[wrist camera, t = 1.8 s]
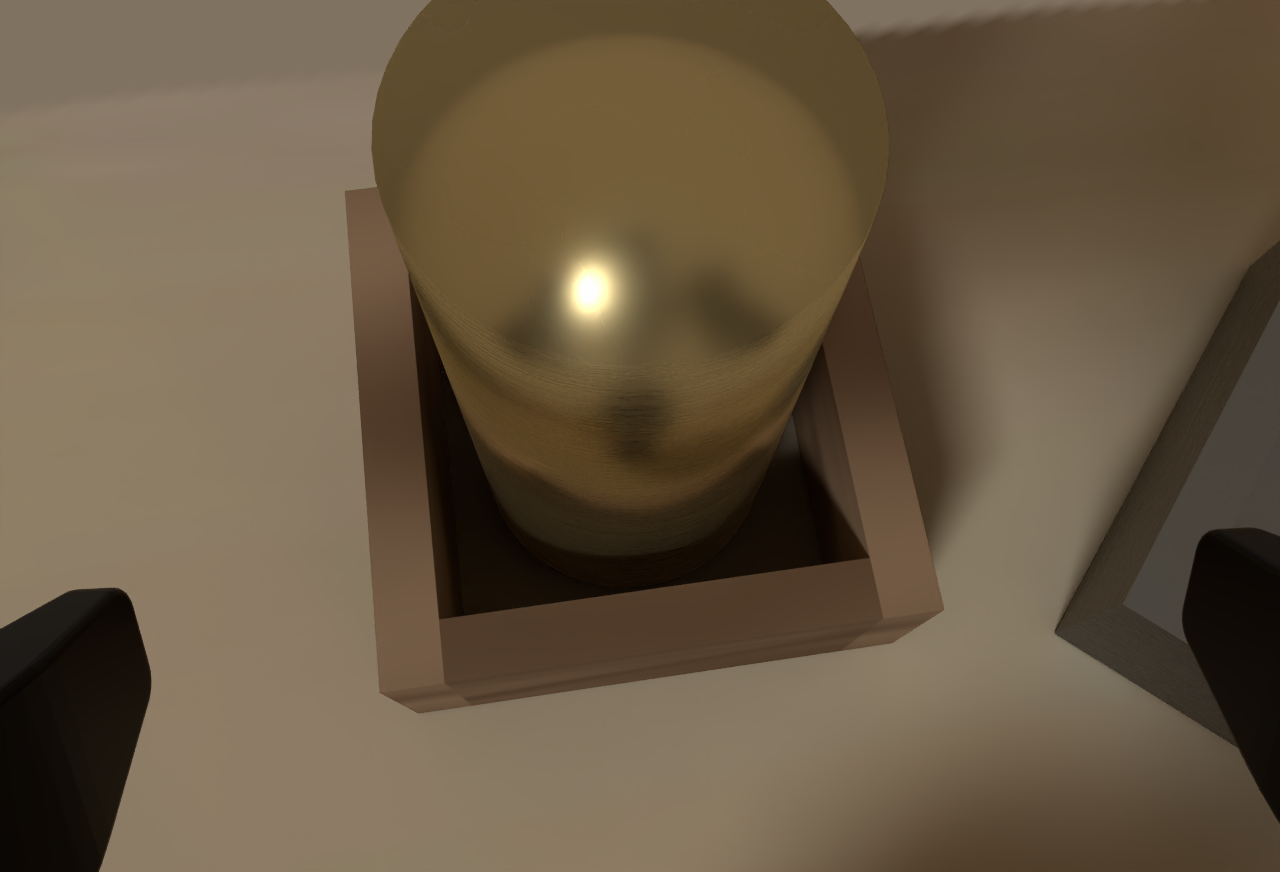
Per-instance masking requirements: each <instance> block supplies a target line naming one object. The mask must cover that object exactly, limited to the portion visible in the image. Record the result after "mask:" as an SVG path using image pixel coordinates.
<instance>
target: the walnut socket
mask: <svg viewBox="0 0 1280 872" xmlns="http://www.w3.org/2000/svg"><path fill="white" fill-rule="evenodd" d="M345 198H346V212H347V227H348V241H349V256H350V270H351V285H352V299H353V314H354V328H355V342H356V357H357V371H358V386H359V400H360V415H361V429H362V443H363V458H364V472H365V487H366V501H367V516H368V530H369V544H370V559H371V573H372V588H373V602H374V617H375V631H376V646H377V660H378V674H379V689H380V693H381V694H383V695H385V696H387V697H389V698H391V699H392V700H394V701H396V702H398V703H400V704H402V705H404V706H405V707H407V708H409V709H411V710H413V711H415V712H417V713H425V712H431V711H438V710H445V709H452V708H458V707H465V706H472V705H478V704H485V703H492V702H499V701H505V700H512V699H519V698H525V697H532V696H539V695H546V694H552V693H559V692H566V691H573V690H579V689H586V688H593V687H599V686H606V685H613V684H620V683H626V682H633V681H640V680H647V679H653V678H660V677H667V676H673V675H680V674H687V673H694V672H700V671H707V670H714V669H721V668H727V667H734V666H741V665H747V664H754V663H761V662H768V661H774V660H781V659H788V658H795V657H801V656H808V655H815V654H821V653H828V652H835V651H842V650H848V649H855V648H862V647H868V646H875V645H882V644H889V643H893V642H895V641H896V640H898V639H899V638H901V637H902V636H904V635H906V634H907V633H909V632H910V631H912V630H913V629H915V628H917V627H918V626H920V625H921V624H923V623H924V622H926V621H927V620H929V619H931V618H932V617H934V616H935V615H937V614H938V613H940V612H942V611H943V610H944V606H943V602H942V598H941V594H940V590H939V586H938V581H937V577H936V573H935V569H934V565H933V561H932V556H931V552H930V548H929V544H928V540H927V536H926V531H925V527H924V523H923V519H922V515H921V511H920V506H919V502H918V498H917V494H916V490H915V486H914V481H913V477H912V473H911V469H910V465H909V461H908V456H907V452H906V448H905V444H904V440H903V436H902V431H901V427H900V423H899V419H898V415H897V411H896V406H895V402H894V398H893V394H892V390H891V386H890V381H889V377H888V373H887V369H886V365H885V361H884V356H883V352H882V348H881V344H880V340H879V336H878V332H877V327H876V323H875V319H874V315H873V311H872V307H871V302H870V298H869V294H868V290H867V286H866V282H865V277H864V273H863V269H862V265H861V261H860V257H858V260H857V262H856V264H855V267H854V269H853V271H852V274H851V276H850V278H849V281H848V283H847V285H846V288H845V290H844V292H843V295H842V297H841V299H840V302H839V304H838V306H837V309H836V311H835V313H834V316H833V318H832V320H831V323H830V325H829V327H828V330H827V332H826V334H825V337H824V339H823V341H822V344H821V346H820V348H819V351H818V353H817V355H816V357H815V360H814V362H813V364H812V367H811V369H810V371H809V374H808V376H807V378H806V381H805V383H804V385H803V388H802V390H801V392H800V395H799V397H798V399H797V402H796V404H795V406H794V409H793V411H792V416H793V420H794V425H795V430H796V435H797V440H798V445H799V449H800V454H801V459H802V464H803V469H804V474H805V478H806V483H807V488H808V493H809V498H810V503H811V507H812V512H813V517H814V522H815V527H816V532H817V536H818V541H819V546H820V551H821V556H822V561H823V565H816V566H810V567H803V568H796V569H789V570H782V571H775V572H768V573H761V574H754V575H747V576H740V577H733V578H726V579H719V580H712V581H705V582H698V583H691V584H684V585H677V586H670V587H663V588H656V589H649V590H642V591H635V592H628V593H621V594H614V595H607V596H600V597H593V598H586V599H579V600H572V601H565V602H558V603H551V604H544V605H537V606H530V607H523V608H516V609H509V610H502V611H495V612H488V613H481V614H474V615H467V616H464V613H463V602H462V592H461V582H460V571H459V561H458V550H457V540H456V529H455V519H454V509H453V498H452V488H451V477H450V467H449V457H448V446H447V436H446V425H445V415H444V404H443V394H442V384H441V373H440V363H439V352H438V349H437V347H436V344H435V342H434V339H433V336H432V334H431V331H430V328H429V326H428V323H427V321H426V318H425V315H424V313H423V310H422V307H421V305H420V302H419V300H418V297H417V294H416V292H415V289H414V286H413V284H412V281H411V279H410V276H409V273H408V271H407V268H406V265H405V263H404V260H403V258H402V255H401V252H400V250H399V247H398V244H397V242H396V239H395V237H394V234H393V231H392V229H391V226H390V223H389V221H388V218H387V216H386V213H385V210H384V208H383V204H382V201H381V197H380V194H379V190H378V187H375V188H367V189H358V190H349V191H345Z"/></svg>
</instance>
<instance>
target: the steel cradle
mask: <svg viewBox="0 0 1280 872" xmlns="http://www.w3.org/2000/svg"><path fill="white" fill-rule="evenodd" d="M1246 527H1251V528H1258V529H1262V530H1265V531H1267V532H1270V533H1273V534H1275V535H1278V536H1280V241H1279V242H1278V243H1276V244H1275V245H1274V246H1273V247H1272V248H1271V249H1270V250H1268V251H1267V252H1266V253H1265V254H1264V255H1263V256H1262V257H1260V258H1259V259H1258V260H1257V261H1256V262H1255V263H1254V264H1252V265H1251V266H1250V267H1249V269H1248V271H1247V273H1246V275H1245V277H1244V278H1243V280H1242V282H1241V284H1240V286H1239V288H1238V290H1237V292H1236V293H1235V295H1234V297H1233V299H1232V301H1231V303H1230V305H1229V307H1228V309H1227V310H1226V312H1225V314H1224V316H1223V318H1222V320H1221V322H1220V324H1219V325H1218V327H1217V329H1216V331H1215V333H1214V335H1213V337H1212V339H1211V340H1210V342H1209V344H1208V346H1207V348H1206V350H1205V352H1204V354H1203V355H1202V357H1201V359H1200V361H1199V363H1198V365H1197V367H1196V369H1195V370H1194V372H1193V374H1192V376H1191V378H1190V380H1189V382H1188V384H1187V385H1186V387H1185V389H1184V391H1183V393H1182V395H1181V397H1180V399H1179V400H1178V402H1177V404H1176V406H1175V408H1174V410H1173V412H1172V414H1171V415H1170V417H1169V419H1168V421H1167V423H1166V425H1165V427H1164V429H1163V431H1162V432H1161V434H1160V436H1159V438H1158V440H1157V442H1156V444H1155V446H1154V447H1153V449H1152V451H1151V453H1150V455H1149V457H1148V459H1147V461H1146V462H1145V464H1144V466H1143V468H1142V470H1141V472H1140V474H1139V476H1138V477H1137V479H1136V481H1135V483H1134V485H1133V487H1132V489H1131V491H1130V492H1129V494H1128V496H1127V498H1126V500H1125V502H1124V504H1123V506H1122V507H1121V509H1120V511H1119V513H1118V515H1117V517H1116V519H1115V521H1114V522H1113V524H1112V526H1111V528H1110V530H1109V532H1108V534H1107V536H1106V537H1105V539H1104V541H1103V543H1102V545H1101V547H1100V549H1099V551H1098V553H1097V554H1096V556H1095V558H1094V560H1093V562H1092V564H1091V566H1090V568H1089V569H1088V571H1087V573H1086V575H1085V577H1084V579H1083V581H1082V583H1081V584H1080V586H1079V588H1078V590H1077V592H1076V594H1075V596H1074V598H1073V599H1072V601H1071V603H1070V605H1069V607H1068V609H1067V611H1066V613H1065V614H1064V616H1063V618H1062V620H1061V622H1060V624H1059V626H1058V628H1057V629H1056V631H1055V634H1056V635H1058V636H1060V637H1061V638H1063V639H1064V640H1066V641H1068V642H1069V643H1071V644H1072V645H1074V646H1076V647H1077V648H1079V649H1080V650H1082V651H1084V652H1085V653H1087V654H1088V655H1090V656H1092V657H1093V658H1095V659H1097V660H1098V661H1100V662H1101V663H1103V664H1105V665H1106V666H1108V667H1109V668H1111V669H1113V670H1114V671H1116V672H1117V673H1119V674H1121V675H1122V676H1124V677H1125V678H1127V679H1129V680H1130V681H1132V682H1133V683H1135V684H1137V685H1138V686H1140V687H1142V688H1143V689H1145V690H1146V691H1148V692H1150V693H1151V694H1153V695H1154V696H1156V697H1158V698H1159V699H1161V700H1162V701H1164V702H1166V703H1167V704H1169V705H1170V706H1172V707H1174V708H1175V709H1177V710H1179V711H1180V712H1182V713H1183V714H1185V715H1187V716H1188V717H1190V718H1191V719H1193V720H1195V721H1196V722H1198V723H1199V724H1201V725H1203V726H1204V727H1206V728H1207V729H1209V730H1211V731H1212V732H1214V733H1215V734H1217V735H1219V736H1220V737H1222V738H1224V739H1225V740H1227V741H1228V742H1230V743H1232V744H1233V745H1235V746H1236V747H1238V746H1237V744H1236V742H1235V740H1234V738H1233V736H1232V734H1231V732H1230V730H1229V728H1228V726H1227V724H1226V721H1225V719H1224V717H1223V715H1222V713H1221V711H1220V709H1219V707H1218V705H1217V703H1216V701H1215V699H1214V697H1213V695H1212V693H1211V690H1210V688H1209V686H1208V684H1207V682H1206V680H1205V678H1204V676H1203V674H1202V672H1201V670H1200V668H1199V666H1198V664H1197V662H1196V659H1195V657H1194V655H1193V653H1192V651H1191V649H1190V647H1189V645H1188V643H1187V640H1186V638H1185V635H1184V631H1183V626H1182V609H1183V604H1184V600H1185V595H1186V591H1187V586H1188V582H1189V578H1190V573H1191V569H1192V564H1193V560H1194V556H1195V551H1196V548H1197V545H1198V542H1199V540H1200V539H1201V537H1202V536H1203V535H1204V534H1205V533H1207V532H1208V531H1210V530H1214V529H1228V528H1246Z"/></svg>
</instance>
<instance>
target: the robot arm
mask: <svg viewBox="0 0 1280 872" xmlns="http://www.w3.org/2000/svg"><path fill="white" fill-rule="evenodd" d="M1182 626H1183V631H1184V635H1185V638H1186V640H1187V643H1188V645H1189V647H1190V649H1191V651H1192V653H1193V655H1194V657H1195V659H1196V662H1197V664H1198V666H1199V668H1200V670H1201V672H1202V674H1203V676H1204V678H1205V680H1206V682H1207V684H1208V686H1209V688H1210V690H1211V693H1212V695H1213V697H1214V699H1215V701H1216V703H1217V705H1218V707H1219V709H1220V711H1221V713H1222V715H1223V717H1224V719H1225V721H1226V724H1227V726H1228V728H1229V730H1230V732H1231V734H1232V736H1233V738H1234V740H1235V742H1236V744H1237V746H1238V748H1239V750H1240V753H1241V755H1242V757H1243V759H1244V761H1245V763H1246V765H1247V767H1248V769H1249V771H1250V772H1251V774H1252V776H1253V778H1254V780H1255V782H1256V784H1257V786H1258V788H1259V790H1260V791H1261V793H1262V795H1263V797H1264V798H1265V800H1266V802H1267V803H1268V805H1269V807H1270V808H1271V810H1272V812H1273V814H1274V815H1275V817H1276V819H1277V820H1278V822H1279V823H1280V536H1278V535H1275V534H1273V533H1270V532H1267V531H1265V530H1262V529H1258V528H1251V527H1246V528H1228V529H1214V530H1210V531H1208V532H1207V533H1205V534H1204V535H1203V536H1202V537H1201V539H1200V540H1199V542H1198V545H1197V548H1196V551H1195V556H1194V560H1193V564H1192V569H1191V573H1190V578H1189V582H1188V586H1187V591H1186V595H1185V600H1184V604H1183V609H1182ZM150 693H151V671H150V666H149V662H148V659H147V655H146V651H145V648H144V644H143V640H142V637H141V633H140V629H139V626H138V622H137V618H136V615H135V611H134V608H133V605H132V602H131V600H130V598H129V596H128V595H127V593H125V592H124V591H122V590H121V589H119V588H97V589H77V590H72V591H69V592H66V593H64V594H63V595H61V596H59V597H57V598H55V599H54V600H52V601H50V602H48V603H46V604H44V605H43V606H41V607H39V608H37V609H35V610H34V611H32V612H30V613H28V614H26V615H25V616H23V617H21V618H19V619H17V620H16V621H14V622H12V623H10V624H8V625H7V626H5V627H3V628H1V629H0V872H99V870H100V867H101V864H102V862H103V859H104V855H105V852H106V849H107V846H108V843H109V840H110V837H111V833H112V830H113V826H114V823H115V819H116V816H117V812H118V808H119V805H120V801H121V798H122V794H123V791H124V787H125V784H126V780H127V777H128V773H129V770H130V766H131V763H132V759H133V756H134V752H135V748H136V745H137V741H138V738H139V734H140V731H141V727H142V724H143V720H144V717H145V713H146V710H147V706H148V703H149V698H150Z"/></svg>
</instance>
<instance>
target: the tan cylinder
mask: <svg viewBox="0 0 1280 872" xmlns="http://www.w3.org/2000/svg"><path fill="white" fill-rule="evenodd" d="M372 157H373V165H374V173H375V180H376V183H377V187H378V190H379V194H380V197H381V201H382V204H383V208H384V210H385V213H386V216H387V218H388V221H389V223H390V226H391V229H392V231H393V234H394V237H395V239H396V242H397V244H398V247H399V250H400V252H401V255H402V258H403V260H404V263H405V265H406V268H407V271H408V273H409V276H410V279H411V281H412V284H413V286H414V289H415V292H416V294H417V297H418V300H419V302H420V305H421V307H422V310H423V313H424V315H425V318H426V321H427V323H428V326H429V328H430V331H431V334H432V336H433V339H434V342H435V344H436V347H437V349H438V352H439V355H440V357H441V360H442V363H443V365H444V368H445V370H446V373H447V376H448V378H449V381H450V384H451V386H452V389H453V391H454V394H455V397H456V399H457V402H458V405H459V407H460V410H461V412H462V415H463V418H464V420H465V423H466V426H467V428H468V431H469V433H470V436H471V439H472V441H473V444H474V447H475V449H476V452H477V454H478V457H479V460H480V462H481V465H482V468H483V470H484V473H485V475H486V478H487V481H488V483H489V486H490V489H491V491H492V494H493V496H494V499H495V502H496V504H497V506H498V508H499V510H500V513H501V515H502V517H503V519H504V520H505V522H506V523H507V525H508V527H509V528H510V530H511V531H512V533H513V534H514V535H515V536H516V537H517V539H518V540H519V541H520V542H521V543H522V545H523V546H524V547H525V548H527V549H528V550H529V551H530V552H531V553H532V554H533V555H534V556H535V557H536V558H538V559H539V560H541V561H542V562H544V563H545V564H546V565H548V566H549V567H551V568H552V569H554V570H556V571H558V572H560V573H562V574H564V575H566V576H568V577H571V578H574V579H577V580H579V581H582V582H585V583H589V584H594V585H599V586H604V587H616V588H633V587H644V586H650V585H655V584H660V583H663V582H667V581H670V580H673V579H676V578H678V577H681V576H683V575H685V574H687V573H689V572H691V571H693V570H695V569H696V568H698V567H700V566H701V565H703V564H704V563H706V562H707V561H709V560H710V559H711V558H712V557H714V556H715V555H716V554H717V553H718V552H719V551H721V550H722V549H723V548H724V547H725V546H726V544H727V543H728V542H729V541H730V540H731V539H732V538H733V537H734V535H735V534H736V532H737V531H738V530H739V528H740V527H741V525H742V524H743V522H744V521H745V518H746V516H747V514H748V512H749V510H750V508H751V506H752V504H753V502H754V499H755V497H756V495H757V492H758V490H759V488H760V485H761V483H762V481H763V478H764V476H765V474H766V471H767V469H768V467H769V465H770V462H771V460H772V458H773V455H774V453H775V451H776V448H777V446H778V444H779V441H780V439H781V437H782V434H783V432H784V430H785V427H786V425H787V423H788V420H789V418H790V416H791V413H792V411H793V409H794V406H795V404H796V402H797V399H798V397H799V395H800V392H801V390H802V388H803V385H804V383H805V381H806V378H807V376H808V374H809V371H810V369H811V367H812V364H813V362H814V360H815V357H816V355H817V353H818V351H819V348H820V346H821V344H822V341H823V339H824V337H825V334H826V332H827V330H828V327H829V325H830V323H831V320H832V318H833V316H834V313H835V311H836V309H837V306H838V304H839V302H840V299H841V297H842V295H843V292H844V290H845V288H846V285H847V283H848V281H849V278H850V276H851V274H852V271H853V269H854V267H855V264H856V262H857V260H858V257H859V255H860V253H861V250H862V248H863V246H864V244H865V241H866V239H867V237H868V234H869V232H870V230H871V227H872V225H873V223H874V220H875V218H876V215H877V212H878V209H879V205H880V202H881V199H882V196H883V193H884V190H885V184H886V178H887V171H888V165H889V127H888V120H887V114H886V107H885V102H884V99H883V95H882V92H881V89H880V86H879V83H878V79H877V76H876V74H875V72H874V70H873V67H872V65H871V63H870V61H869V59H868V57H867V55H866V53H865V51H864V49H863V47H862V46H861V44H860V43H859V41H858V40H857V38H856V37H855V35H854V34H853V32H852V30H851V29H850V27H849V26H848V25H847V23H846V22H845V21H844V20H843V19H842V18H841V16H840V15H839V14H838V13H837V12H836V11H835V9H834V8H833V7H832V6H831V5H830V4H829V3H828V2H827V1H826V0H432V1H431V2H430V3H429V4H428V5H427V6H426V7H425V8H424V9H423V10H422V11H421V12H420V13H419V15H418V16H417V17H416V18H415V20H414V21H413V23H412V24H411V26H410V27H409V28H408V30H407V31H406V32H405V34H404V35H403V37H402V38H401V40H400V41H399V44H398V45H397V47H396V49H395V51H394V53H393V55H392V57H391V59H390V61H389V63H388V65H387V67H386V70H385V73H384V76H383V79H382V82H381V84H380V87H379V90H378V94H377V99H376V105H375V110H374V115H373V121H372Z"/></svg>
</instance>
